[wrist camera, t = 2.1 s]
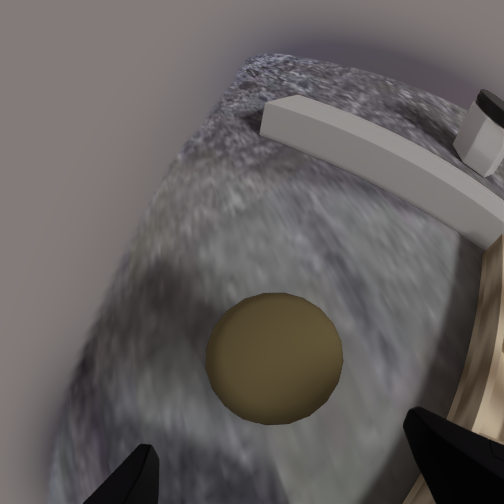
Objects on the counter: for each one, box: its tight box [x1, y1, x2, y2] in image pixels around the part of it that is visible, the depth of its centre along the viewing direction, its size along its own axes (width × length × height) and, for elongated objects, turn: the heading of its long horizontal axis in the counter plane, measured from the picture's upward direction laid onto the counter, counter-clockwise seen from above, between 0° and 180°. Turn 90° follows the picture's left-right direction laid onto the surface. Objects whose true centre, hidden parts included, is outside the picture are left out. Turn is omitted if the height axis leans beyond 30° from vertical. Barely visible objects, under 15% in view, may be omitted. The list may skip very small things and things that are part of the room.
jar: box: [453, 89, 504, 177], centre depth 29 cm, size 9×8×12 cm
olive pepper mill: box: [206, 293, 343, 425], centre depth 13 cm, size 6×6×11 cm
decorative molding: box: [260, 95, 504, 251], centre depth 30 cm, size 34×5×10 cm
